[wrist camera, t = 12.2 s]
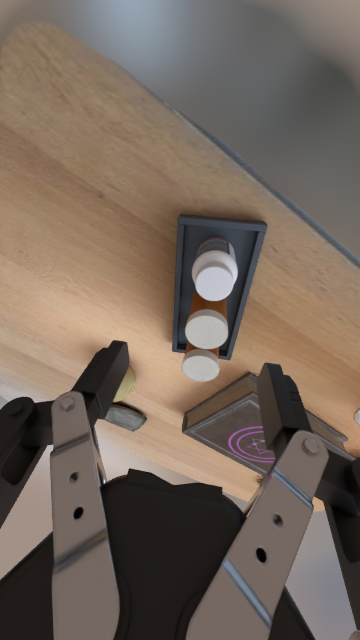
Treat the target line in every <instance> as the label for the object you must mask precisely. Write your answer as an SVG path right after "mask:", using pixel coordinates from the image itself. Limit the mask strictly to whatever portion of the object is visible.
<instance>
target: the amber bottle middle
mask: <svg viewBox="0 0 360 640" xmlns="http://www.w3.org/2000/svg"><path fill="white" fill-rule="evenodd" d="M185 335H186V337H187V339H188V341H189V342H190V343H191V344H193V345H194V346H196V347H198V348H202V349H214V348H217V347H219V346H221V345H222V344H223V343H224V342H225V341H226V339H227V337H228V324H227V312H226V298H224V299H222V300H219V301H209V300H206V299H204V298H203V297H201V296H200V295H199V294H198V292H197V290H196V291H195V293H194V296H193V301H192V305H191V310H190V314H189V318H188V320H187V324H186V328H185Z"/></svg>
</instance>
